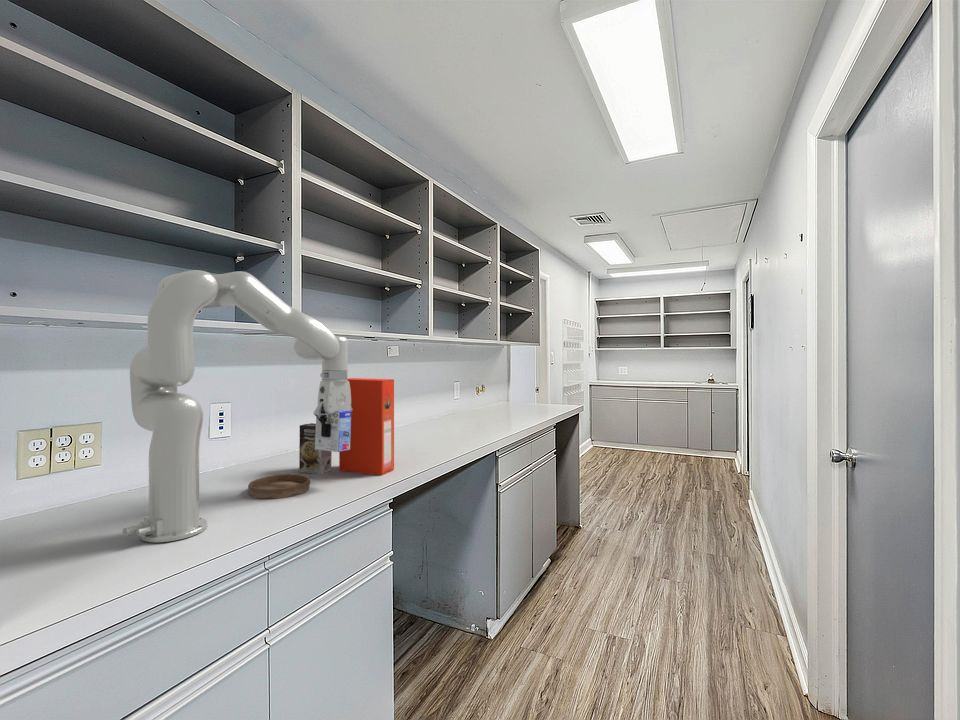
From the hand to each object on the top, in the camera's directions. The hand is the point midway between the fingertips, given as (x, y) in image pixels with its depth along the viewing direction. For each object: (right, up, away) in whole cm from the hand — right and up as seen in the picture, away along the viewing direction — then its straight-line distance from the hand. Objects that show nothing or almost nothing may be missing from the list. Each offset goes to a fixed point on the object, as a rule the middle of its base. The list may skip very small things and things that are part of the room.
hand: (333, 434), depth 139 cm
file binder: (+5, -16, +19) cm, 26 cm away
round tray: (-15, -16, -4) cm, 22 cm away
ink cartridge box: (0, -5, 0) cm, 5 cm away
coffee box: (-12, -16, +18) cm, 27 cm away
